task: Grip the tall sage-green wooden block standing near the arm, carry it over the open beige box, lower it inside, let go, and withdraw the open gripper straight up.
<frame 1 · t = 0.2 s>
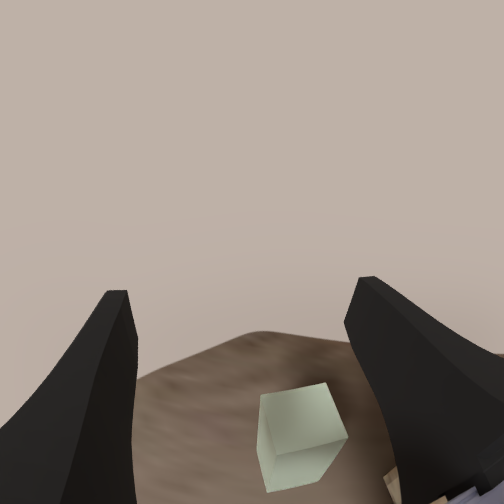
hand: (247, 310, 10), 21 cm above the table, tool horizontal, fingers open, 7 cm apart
sage block: (286, 466, 23), on the table
open beige box: (444, 496, 18), on the table
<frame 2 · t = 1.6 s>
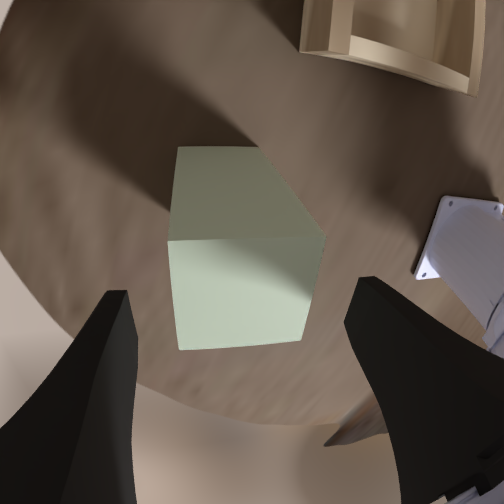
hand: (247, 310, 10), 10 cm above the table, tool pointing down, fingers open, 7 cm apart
sage block: (217, 183, 18), on the table
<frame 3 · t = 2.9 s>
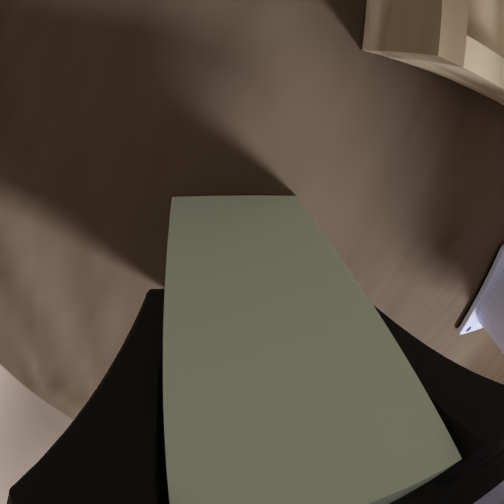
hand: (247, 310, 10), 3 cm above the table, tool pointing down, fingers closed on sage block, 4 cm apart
sage block: (232, 249, 12), on the table, touching gripper
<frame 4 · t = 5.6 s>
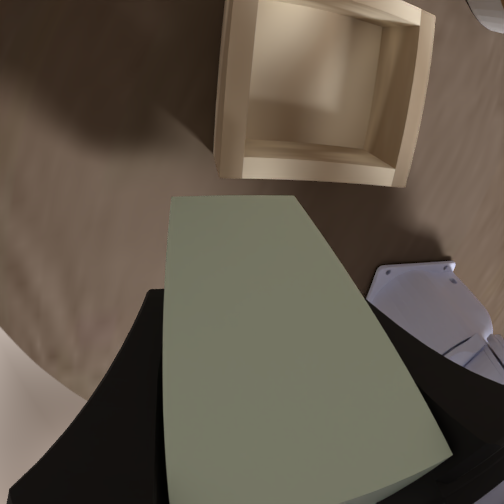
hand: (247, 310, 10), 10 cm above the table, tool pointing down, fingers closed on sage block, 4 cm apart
sage block: (231, 248, 13), point 7 cm above the table, touching gripper
open beige box: (309, 74, 15), on the table
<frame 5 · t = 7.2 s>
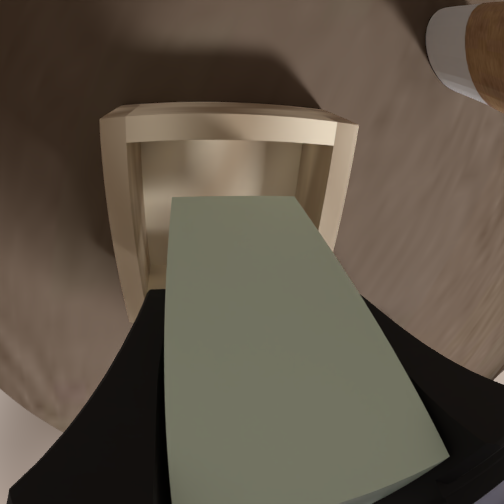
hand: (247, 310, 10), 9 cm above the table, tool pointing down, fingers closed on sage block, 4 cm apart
sage block: (231, 248, 13), point 5 cm above the table, touching gripper
coffee cup: (455, 49, 14), on the table
open beige box: (220, 196, 17), on the table
when the fingers open (5 cm above the table, at t = 8.5 s): sage block stays where it is, resting on open beige box.
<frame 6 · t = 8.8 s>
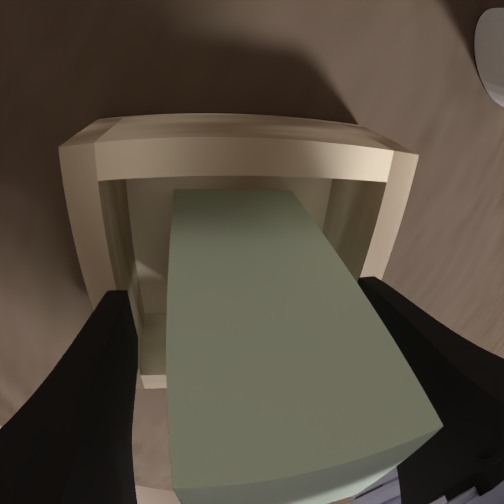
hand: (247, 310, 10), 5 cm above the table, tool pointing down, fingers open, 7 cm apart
sage block: (230, 240, 13), resting on open beige box
coffee cup: (502, 56, 10), on the table
open beige box: (229, 233, 13), on the table
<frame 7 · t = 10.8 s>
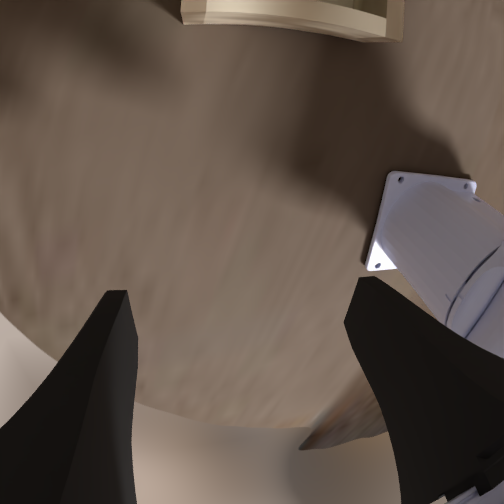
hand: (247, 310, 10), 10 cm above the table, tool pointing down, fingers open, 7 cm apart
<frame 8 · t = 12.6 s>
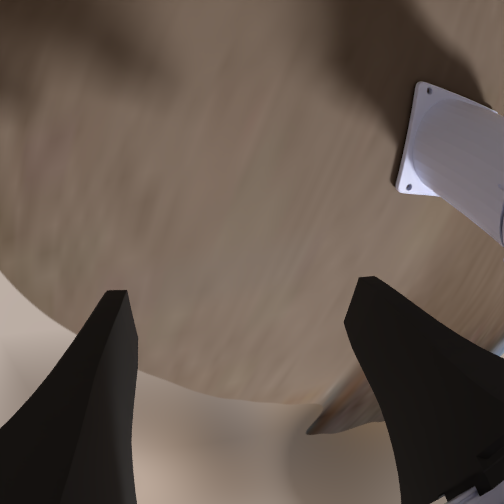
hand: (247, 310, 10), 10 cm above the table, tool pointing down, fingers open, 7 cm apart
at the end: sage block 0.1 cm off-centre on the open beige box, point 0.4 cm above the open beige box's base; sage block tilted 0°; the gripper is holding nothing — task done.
